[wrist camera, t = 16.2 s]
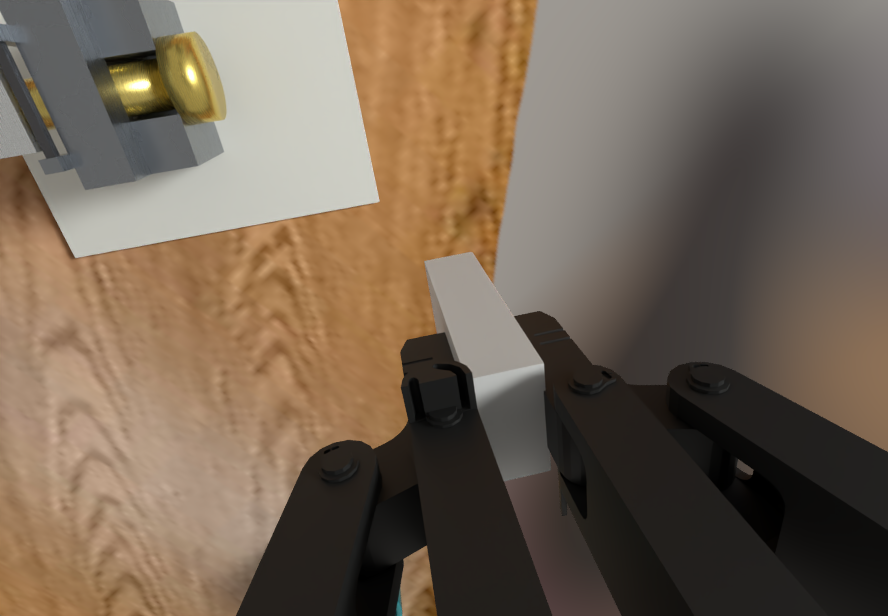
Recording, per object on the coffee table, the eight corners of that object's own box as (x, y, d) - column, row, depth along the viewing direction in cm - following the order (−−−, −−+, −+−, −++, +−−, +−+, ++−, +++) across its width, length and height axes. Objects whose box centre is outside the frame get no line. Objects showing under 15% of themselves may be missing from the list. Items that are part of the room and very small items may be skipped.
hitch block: (174, 2, 34) (102, -27, 24) (224, 152, 38) (180, 175, 29) (68, 18, 33) (-46, -6, 24) (132, 167, 37) (56, 197, 28)
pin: (206, 34, 33) (180, 27, 28) (232, 117, 35) (213, 123, 30) (3, 66, 32) (-59, 64, 27) (43, 148, 34) (-7, 160, 29)
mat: (-90, -74, 30) (-98, -77, 30) (311, -127, 32) (310, -131, 32) (79, 255, 40) (75, 258, 40) (379, 200, 42) (379, 201, 41)
